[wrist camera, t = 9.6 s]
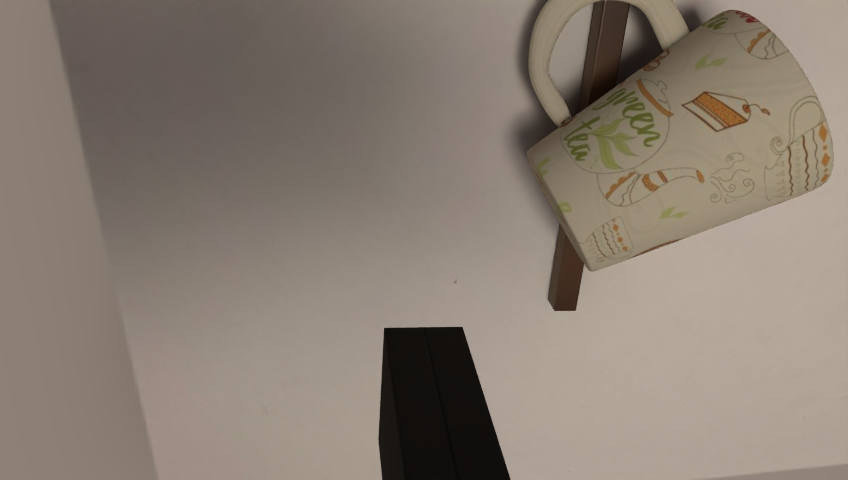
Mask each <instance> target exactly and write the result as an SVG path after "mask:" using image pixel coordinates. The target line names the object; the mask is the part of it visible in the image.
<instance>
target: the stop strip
mask: <svg viewBox="0 0 848 480" xmlns="http://www.w3.org/2000/svg"><path fill="white" fill-rule="evenodd" d="M629 6H630V3H626V2H622V1H616V0H602V1H597V2H595V4H594V10H593V16H592V23H591V29H590V36H589V42H588V48H587V55H586V61H585V68H584V74H583V80H582V87H581V93H580V99H579V106H578V112H577V114H578V113H580V112H581V111H583V110H584V109H585V108H587V107H588V106H590V105H591V104H592V103H594V102H595V101H597V100H598V99H599V98H601V97H602V96H603V95H605V94H606V93H608V92H609V91H610V90H612V89H613V88H615V86H616V80H617V74H618V69H619V63H620V57H621V52H622V46H623V40H624V35H625V29H626V23H627V18H628V12H629ZM583 267H584V263H583V261H582V260H581V258H580V257H579V255H578V253H577V252H576V250H575V249H574V247H573V245H572V243H571V242H570V240H569V238H568V237H567V235H566V233H565V231H564V230H563V228H562V226H561V224H560V227H559V234H558V240H557V246H556V253H555V259H554V266H553V272H552V278H551V285H550V291H549V297H548V300H549V302H550V304H551V306H552V308H553V309H554V311H575V310H576V306H577V301H578V295H579V289H580V284H581V278H582V272H583Z"/></svg>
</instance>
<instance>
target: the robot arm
mask: <svg viewBox="0 0 848 480" xmlns="http://www.w3.org/2000/svg"><path fill="white" fill-rule="evenodd" d="M379 450H380V460H381V470H382V480H510V477H509V473H508V470H507V467H506V464H505V461H504V457H503V454H502V451H501V448H500V445H499V442H498V438H497V435H496V432H495V429H494V426H493V423H492V419H491V416H490V413H489V410H488V407H487V404H486V400H485V397H484V394H483V391H482V388H481V384H480V381H479V378H478V375H477V372H476V369H475V365H474V362H473V359H472V356H471V353H470V350H469V346H468V343H467V340H466V337H465V334H464V331H463V327H419V328H384V343H383V362H382V382H381V402H380V421H379Z"/></svg>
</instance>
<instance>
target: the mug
mask: <svg viewBox="0 0 848 480" xmlns="http://www.w3.org/2000/svg"><path fill="white" fill-rule="evenodd" d="M597 1H602V0H547V2H546V3H545V5H544V6H543V8H542V9H541V11H540V13H539V15H538V17H537V19H536V21H535V24H534V27H533V30H532V35H531V40H530V46H529V56H528V70H529V76H530V80H531V83H532V86H533V89H534V91H535V93H536V95H537V97H538V99H539V100H540V102H541V104H542V106H543V108H544V109H545V111H546V112H547V114H548V115H549V117H550V118H551V119H552V121H553V122H554V123H555V124H556V125H557V126H558V127H559V128H558V129H556V130H555V131H553V132H552V133H551V134H549V135H548V136H546V137H545V138H544V139H542V140H541V141H540V142H538V143H537V144H536V145H534V146H533V147H532V148H530V149H529V150H528V151H527V152H526V156H527V159H528V162H529V164H530V166H531V168H532V170H533V173H534V175H535V177H536V179H537V181H538V183H539V185H540V187H541V189H542V191H543V193H544V194H545V196H546V198H547V200H548V202H549V204H550V206H551V208H552V210H553V211H554V213H555V215H556V217H557V219H558V221H559V222H560V224H561V226H562V228H563V230H564V231H565V233H566V235H567V237H568V238H569V240H570V242H571V243H572V245H573V247H574V249H575V250H576V252H577V253H578V255H579V257H580V258H581V260H582V261H583V263H584V264H585V266H586V267H587V268H588V270H589V271H596V270H600V269H603V268H605V267H608V266H611V265H614V264H616V263H619V262H622V261H625V260H627V259H630V258H633V257H635V256H638V255H641V254H644V253H646V252H649V251H652V250H654V249H657V248H660V247H662V246H665V245H668V244H671V243H673V242H676V241H679V240H681V239H684V238H687V237H689V236H692V235H695V234H698V233H700V232H703V231H706V230H708V229H711V228H714V227H716V226H719V225H722V224H725V223H727V222H730V221H733V220H735V219H738V218H741V217H744V216H746V215H749V214H752V213H754V212H757V211H760V210H762V209H765V208H768V207H771V206H773V205H776V204H779V203H781V202H784V201H787V200H789V199H792V198H795V197H798V196H800V195H803V194H805V193H808V192H810V191H812V190H814V189H816V188H818V187H820V186H822V185H823V184H824V183H825V182H826V181H827V180H828V179H829V177H830V175H831V172H832V169H833V161H834V153H833V144H832V138H831V134H830V130H829V126H828V123H827V120H826V117H825V114H824V112H823V109H822V107H821V104H820V102H819V100H818V98H817V96H816V93H815V91H814V89H813V87H812V86H811V84H810V82H809V80H808V78H807V77H806V75H805V73H804V72H803V70H802V68H801V67H800V65H799V64H798V63H797V61H796V60H795V58H794V57H793V55H792V54H791V53H790V51H789V50H788V49H787V48H786V46H785V45H784V44H783V43H782V42H781V41H780V39H779V38H778V37H777V36H776V35H775V34H774V33H773V32H772V31H771V30H770V29H769V28H767V27H766V26H765V25H764V24H763V23H761V22H760V21H759V20H757V19H756V18H754V17H753V16H751V15H749V14H747V13H744V12H742V11H738V10H728V11H724V12H722V13H720V14H718V15H716V16H714V17H713V18H711V19H710V20H708V21H707V22H705V23H704V24H702V25H701V26H699V27H698V28H697V29H695V30H694V31H692V32H691V33H690V31H689V29H688V27H687V25H686V23H685V21H684V19H683V17H682V15H681V13H680V12H679V10H678V8H677V6H676V4H675V2H674V1H673V0H616V1H622V2H626V3H630V4H632V5H635V6H636V7H638V8H640V9H641V10H642V11H643V12H644V13H645V15H646V16H647V18H648V20H649V21H650V23H651V25H652V28H653V30H654V32H655V34H656V37H657V39H658V41H659V43H660V45H661V47H662V49H663V51H664V52H663V53H662V54H660V55H659V56H657V57H656V58H655V59H653V60H652V61H651V62H649V63H648V64H647V65H645V66H644V67H642V68H641V69H640V70H638V71H637V72H635V73H634V74H633V75H631V76H630V77H628V78H627V79H626V80H624V81H623V82H622V83H620V84H619V85H617V86H616V87H615V88H613V89H612V90H610V91H609V92H608V93H606V94H605V95H603V96H602V97H601V98H599V99H598V100H597V101H595V102H594V103H592V104H591V105H590V106H588V107H587V108H585V109H584V110H583V111H581V112H580V113H578V114H577V115H576V116H574V117H573V118H571V115H570V112H569V110H568V107H567V105H566V103H565V101H564V99H563V98H562V96H561V94H560V92H559V91H558V89H557V87H556V86H555V84H554V82H553V80H552V79H551V77H550V75H549V71H548V67H549V61H550V56H551V53H552V50H553V47H554V44H555V42H556V40H557V38H558V36H559V34H560V32H561V30H562V29H563V27H564V26H565V24H566V23H567V22H568V20H569V19H570V18H571V17H572V16H573V15H574V14H575V13H576V12H577V11H578V10H580V9H581V8H583V7H584V6H586V5H588V4H591V3H593V2H597Z"/></svg>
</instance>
